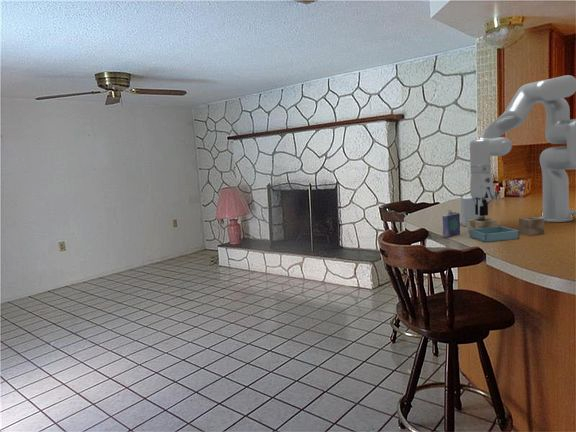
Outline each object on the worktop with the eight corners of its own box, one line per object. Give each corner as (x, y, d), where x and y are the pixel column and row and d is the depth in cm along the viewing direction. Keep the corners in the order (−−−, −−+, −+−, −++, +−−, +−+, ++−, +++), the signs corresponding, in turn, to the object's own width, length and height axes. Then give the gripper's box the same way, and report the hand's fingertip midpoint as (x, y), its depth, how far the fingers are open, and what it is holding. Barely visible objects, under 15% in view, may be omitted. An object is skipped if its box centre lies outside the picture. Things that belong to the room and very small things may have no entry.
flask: (446, 238, 168) (445, 211, 166) (440, 237, 170) (439, 211, 169) (461, 234, 172) (460, 208, 171) (455, 233, 175) (454, 208, 173)
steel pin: (482, 225, 174) (482, 196, 172) (486, 225, 171) (485, 196, 169) (477, 225, 173) (476, 196, 172) (480, 226, 171) (479, 197, 169)
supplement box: (482, 225, 186) (481, 197, 184) (464, 226, 187) (463, 198, 185) (478, 222, 193) (477, 195, 191) (461, 223, 194) (460, 196, 192)
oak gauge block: (485, 229, 177) (485, 217, 176) (497, 232, 169) (496, 220, 168) (467, 231, 176) (467, 219, 176) (478, 234, 168) (478, 222, 168)
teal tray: (501, 233, 167) (500, 226, 166) (519, 238, 156) (519, 230, 155) (469, 237, 166) (469, 229, 165) (485, 242, 154) (485, 234, 154)
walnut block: (533, 231, 165) (533, 216, 164) (544, 234, 159) (544, 218, 158) (519, 233, 165) (518, 218, 164) (529, 235, 159) (529, 220, 158)
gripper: (501, 169, 162) (502, 216, 164) (478, 169, 177) (479, 211, 180) (483, 171, 161) (484, 218, 163) (461, 170, 177) (462, 213, 179)
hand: (481, 214), depth 172 cm, fingers closed on steel pin, 2 cm apart
